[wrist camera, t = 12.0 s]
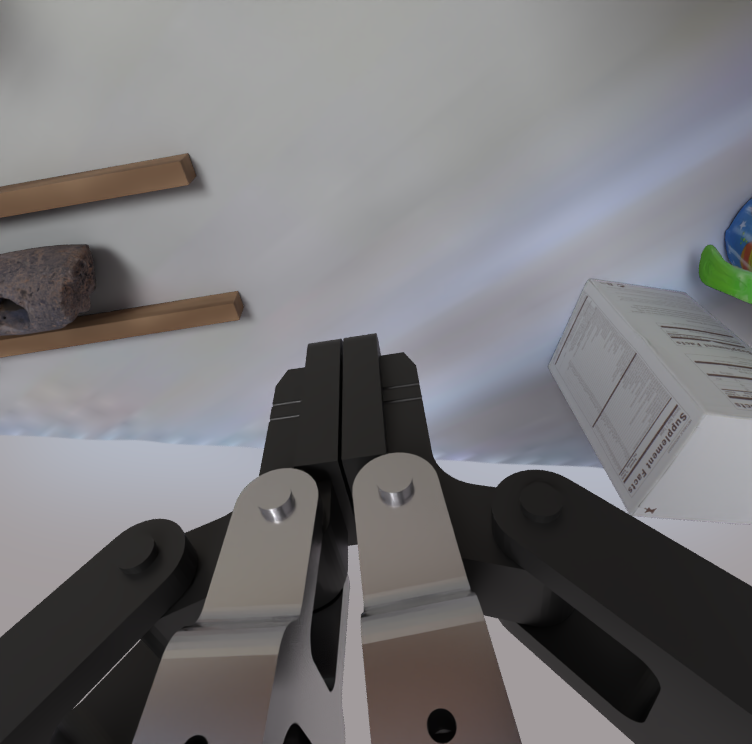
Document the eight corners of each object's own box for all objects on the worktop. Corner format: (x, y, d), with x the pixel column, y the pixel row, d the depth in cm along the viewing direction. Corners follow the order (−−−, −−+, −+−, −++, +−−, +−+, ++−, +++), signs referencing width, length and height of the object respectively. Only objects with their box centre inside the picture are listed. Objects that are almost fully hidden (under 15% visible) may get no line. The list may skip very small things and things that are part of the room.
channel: (-157, 214, 35) (-201, 233, 32) (187, 153, 33) (173, 167, 30) (-43, 352, 42) (-71, 377, 39) (243, 307, 40) (236, 330, 38)
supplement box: (635, 378, 47) (750, 530, 34) (544, 368, 46) (626, 522, 32) (689, 289, 41) (854, 429, 28) (587, 274, 40) (708, 414, 27)
